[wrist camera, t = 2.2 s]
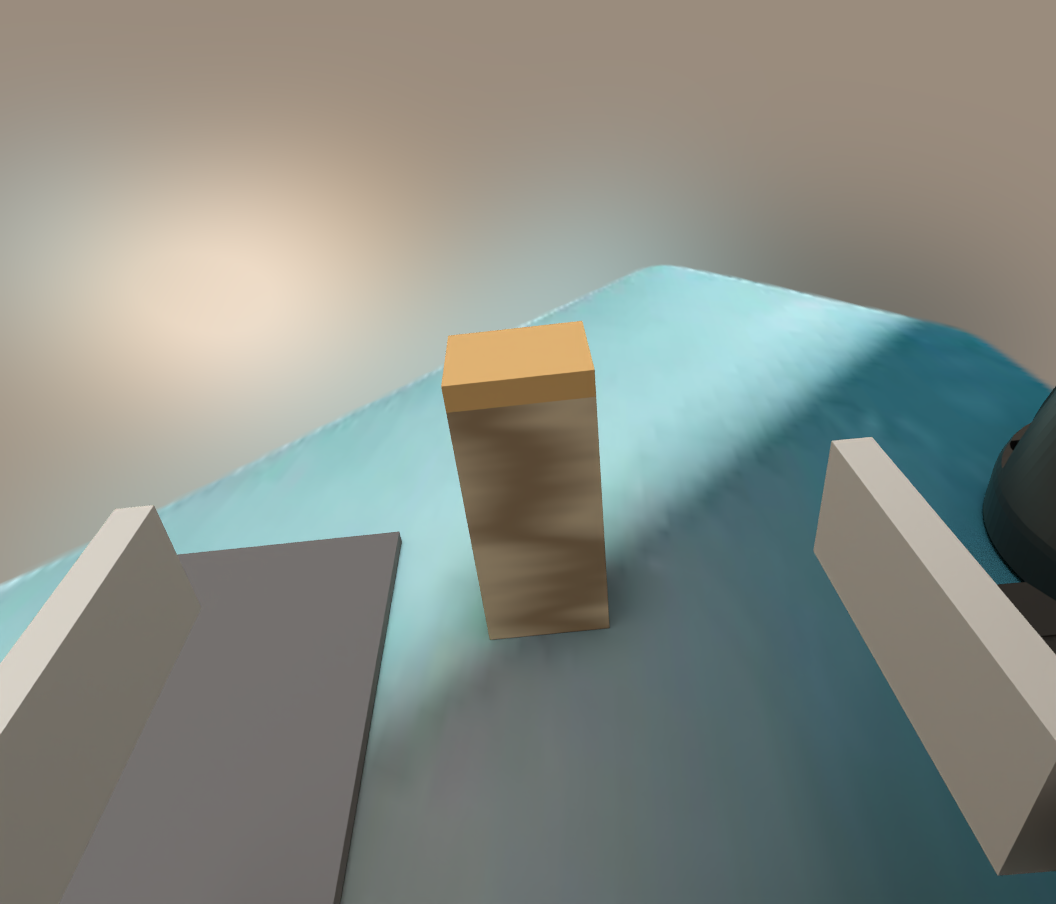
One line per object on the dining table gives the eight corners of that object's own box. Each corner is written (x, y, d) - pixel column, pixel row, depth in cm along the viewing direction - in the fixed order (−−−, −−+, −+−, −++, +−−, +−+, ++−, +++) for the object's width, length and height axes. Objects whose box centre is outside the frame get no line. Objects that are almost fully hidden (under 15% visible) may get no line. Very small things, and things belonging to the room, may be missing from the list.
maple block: (598, 562, 33) (582, 320, 27) (609, 627, 30) (594, 370, 23) (490, 573, 33) (448, 335, 27) (489, 639, 30) (441, 386, 23)
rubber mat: (401, 540, 36) (398, 531, 36) (332, 945, 21) (327, 936, 20) (166, 565, 36) (161, 556, 36) (-70, 981, 21) (-81, 972, 21)
